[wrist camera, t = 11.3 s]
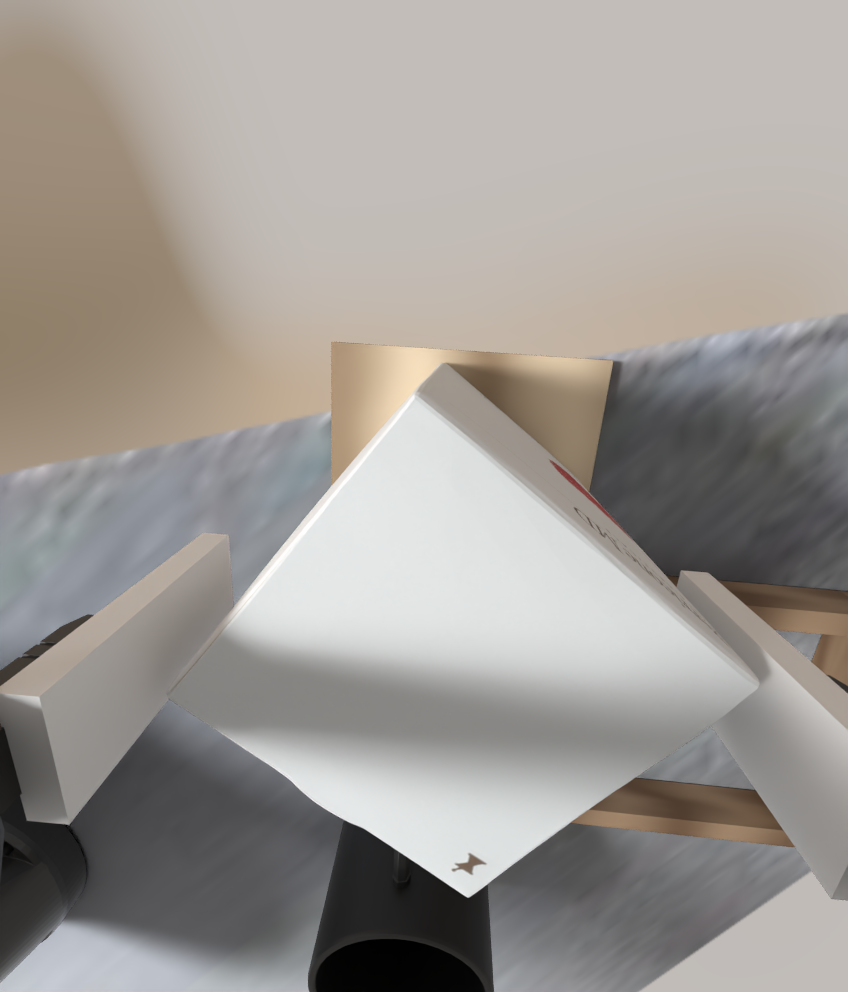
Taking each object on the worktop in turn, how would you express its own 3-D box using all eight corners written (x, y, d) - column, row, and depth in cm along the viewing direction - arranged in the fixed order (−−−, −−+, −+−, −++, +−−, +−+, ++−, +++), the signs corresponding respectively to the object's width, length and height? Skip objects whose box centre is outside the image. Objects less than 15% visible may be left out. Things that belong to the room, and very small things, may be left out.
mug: (487, 739, 29) (500, 904, 21) (482, 872, 33) (491, 1058, 24) (339, 733, 30) (292, 890, 21) (351, 864, 34) (315, 1043, 25)
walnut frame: (529, 781, 30) (535, 819, 28) (567, 567, 25) (579, 590, 23) (774, 807, 29) (802, 848, 27) (862, 592, 24) (906, 619, 22)
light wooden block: (334, 582, 26) (331, 587, 26) (334, 341, 22) (331, 341, 22) (565, 603, 26) (567, 609, 25) (609, 360, 22) (613, 360, 21)
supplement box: (582, 477, 23) (789, 696, 9) (462, 596, 25) (469, 917, 11) (443, 353, 22) (418, 374, 7) (330, 492, 24) (148, 708, 10)
